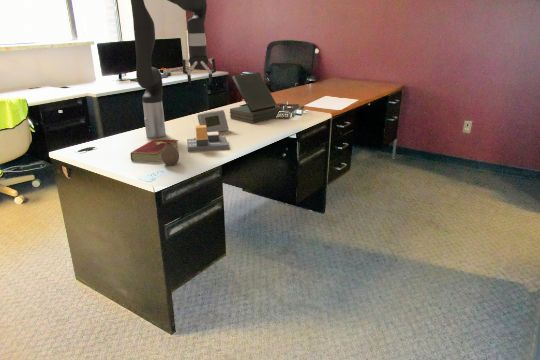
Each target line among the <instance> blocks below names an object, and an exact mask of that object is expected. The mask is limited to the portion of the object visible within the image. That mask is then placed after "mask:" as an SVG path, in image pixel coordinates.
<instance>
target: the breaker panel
mask: <svg viewBox="0 0 540 360" xmlns="http://www.w3.org/2000/svg"><path fill="white" fill-rule="evenodd" d="M186 144H187V153H194V152H205V151H207V152H208V151H219V150H229V149H230V148H229V145H230V144H229V143H228V139H227V138H226V136H219V141H208V145H202V146H197V143H196V137H193V138H187V139H186Z"/></svg>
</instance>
